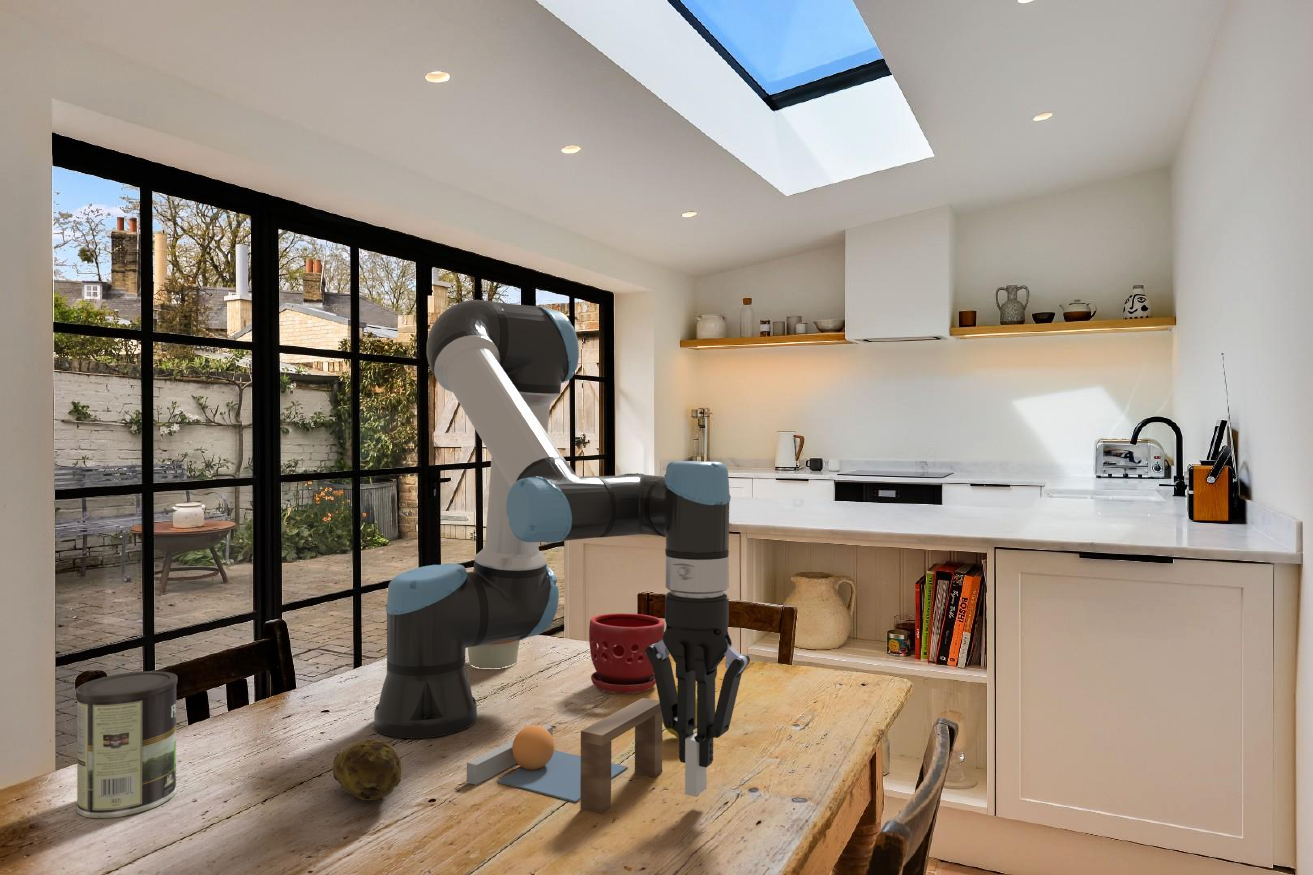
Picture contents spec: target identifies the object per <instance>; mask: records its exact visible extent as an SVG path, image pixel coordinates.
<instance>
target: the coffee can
mask: <svg viewBox="0 0 1313 875" xmlns="http://www.w3.org/2000/svg"><path fill="white" fill-rule="evenodd" d="M178 678H179V677H178V675H177V674H175V673H173V672H170V671H161V670H160V671H159V670H146V671H133V672H132V671H131V672H123V673H118V674H117V673H116V674H113V675H108V676H103V677H99V678H97V679H92V680H90V681H87V682H85V683H84V682H83V684H81V685H79V686H78V687H76V689H75V697H76V698H77V699H76V700H77V701H76V702H77V703H76V704H77V705H76V706H77V710H76V712H77V713H76V714H77V715H76V721H77V726H76V730H77V732H76V733H77V737H76V740H77V741H76V744H77V746H76V747H77V749H76V750H77V751H76V752H77V753H76V754H77V755H76V756H77V758H76V759H77V760H76V761H77V762H76V763H77V764H76V765H77V767H76V768H77V770H76V771H77V774H76V775H77V776H76V777H77V779H76V780H77V781H76V782H77V786H76V787H77V788H76V790H77V791H76V792H77V793H76V796H77V798H76V800H77V801H76V803H77V804H76V809H75V810H76V812H77V814H79V815H80V816H83V817H84V818H89V819H113V818H120V817H125V816H130V815H134V814H135V815H136V814H139V813H142V812H146V811H149V810H151V809H154V808H157V807H159V806H162V805H163V804H165V803H167V802H168V801H170V800H171V799H173V797H175V795H176V794H177V791H178V788H177V684H178Z"/></svg>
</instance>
